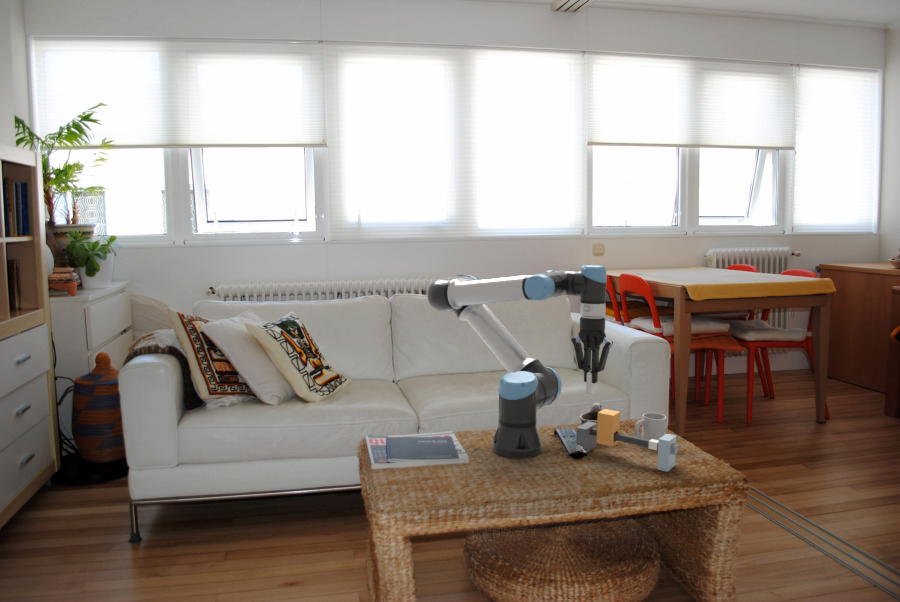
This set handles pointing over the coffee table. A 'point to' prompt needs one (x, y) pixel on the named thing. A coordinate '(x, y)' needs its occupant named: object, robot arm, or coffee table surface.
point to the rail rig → (664, 445)
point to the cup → (651, 426)
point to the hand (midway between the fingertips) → (590, 392)
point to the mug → (591, 414)
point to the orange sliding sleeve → (607, 427)
